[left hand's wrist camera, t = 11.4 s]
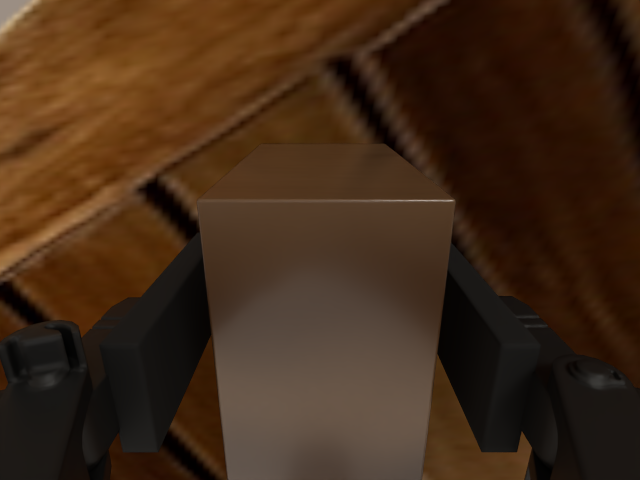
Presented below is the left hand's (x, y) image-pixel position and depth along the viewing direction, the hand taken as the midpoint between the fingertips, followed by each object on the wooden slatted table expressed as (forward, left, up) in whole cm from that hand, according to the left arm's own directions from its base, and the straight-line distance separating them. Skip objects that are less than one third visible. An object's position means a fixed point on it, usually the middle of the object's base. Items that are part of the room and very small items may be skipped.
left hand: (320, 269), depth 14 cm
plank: (-16, +11, -3) cm, 19 cm away
